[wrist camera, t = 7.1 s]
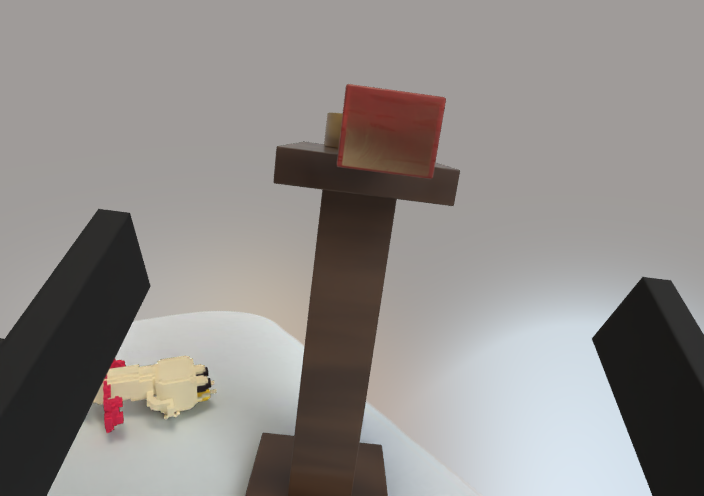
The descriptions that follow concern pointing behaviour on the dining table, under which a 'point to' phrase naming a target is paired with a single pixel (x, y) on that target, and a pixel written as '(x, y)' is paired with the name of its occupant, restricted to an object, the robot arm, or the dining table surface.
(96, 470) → the dining table surface
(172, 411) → the cream toy animal figure
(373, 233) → the stand
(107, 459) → the dining table surface
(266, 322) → the dining table surface
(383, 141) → the pointer
